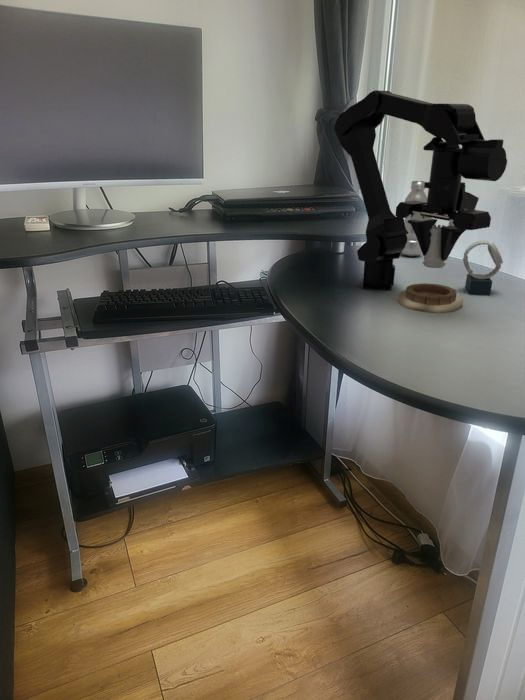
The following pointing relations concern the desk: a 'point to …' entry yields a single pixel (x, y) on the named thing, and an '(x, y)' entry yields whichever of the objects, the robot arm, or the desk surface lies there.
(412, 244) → the plastic bottle
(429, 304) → the well tray
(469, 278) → the watch
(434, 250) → the rook chess piece
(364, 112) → the robot arm
